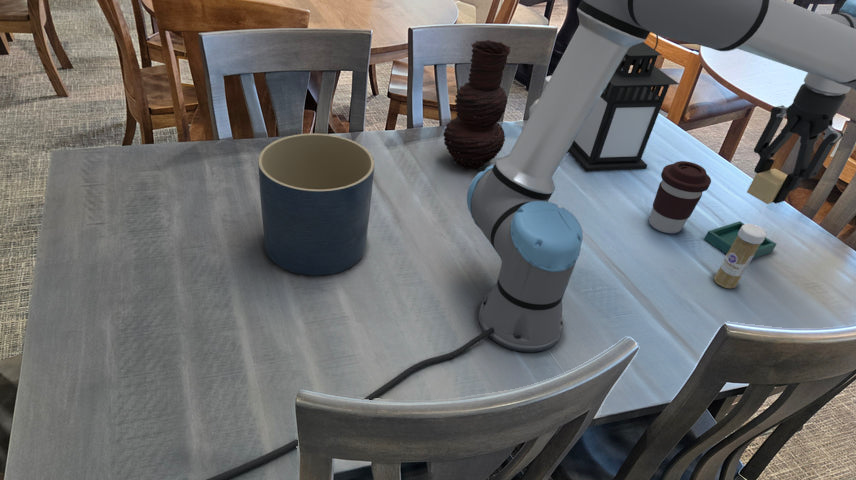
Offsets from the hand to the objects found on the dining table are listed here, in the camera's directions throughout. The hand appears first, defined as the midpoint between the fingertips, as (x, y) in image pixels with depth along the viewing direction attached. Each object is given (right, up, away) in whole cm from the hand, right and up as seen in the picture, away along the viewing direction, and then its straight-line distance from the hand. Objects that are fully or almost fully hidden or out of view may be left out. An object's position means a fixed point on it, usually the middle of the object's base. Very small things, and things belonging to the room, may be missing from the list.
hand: (766, 194), depth 132 cm
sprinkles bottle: (-10, -19, -2) cm, 21 cm away
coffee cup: (-15, -5, +14) cm, 21 cm away
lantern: (-20, +16, +39) cm, 47 cm away
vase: (-57, +13, +32) cm, 66 cm away
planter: (-95, -11, +1) cm, 96 cm away
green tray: (-1, -10, +9) cm, 14 cm away
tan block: (0, 0, 0) cm, 0 cm away
